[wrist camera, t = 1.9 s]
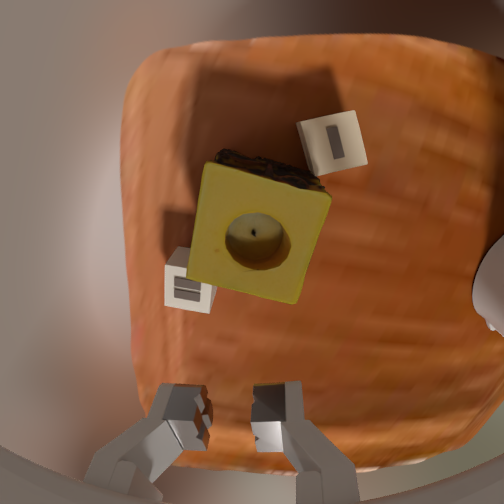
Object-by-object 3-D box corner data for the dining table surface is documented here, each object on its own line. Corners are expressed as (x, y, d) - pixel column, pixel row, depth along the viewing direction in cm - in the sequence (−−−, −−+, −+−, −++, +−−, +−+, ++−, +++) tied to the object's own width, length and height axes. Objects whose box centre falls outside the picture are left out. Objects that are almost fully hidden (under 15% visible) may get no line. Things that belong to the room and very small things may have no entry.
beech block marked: (342, 112, 28) (355, 110, 23) (353, 158, 30) (368, 164, 25) (295, 122, 29) (300, 121, 24) (308, 168, 31) (315, 176, 26)
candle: (222, 147, 30) (201, 156, 21) (317, 171, 31) (337, 191, 22) (203, 236, 34) (179, 278, 25) (290, 258, 35) (296, 307, 26)
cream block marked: (220, 252, 35) (212, 273, 30) (216, 290, 37) (208, 314, 32) (178, 245, 35) (164, 265, 30) (176, 283, 37) (164, 306, 32)
